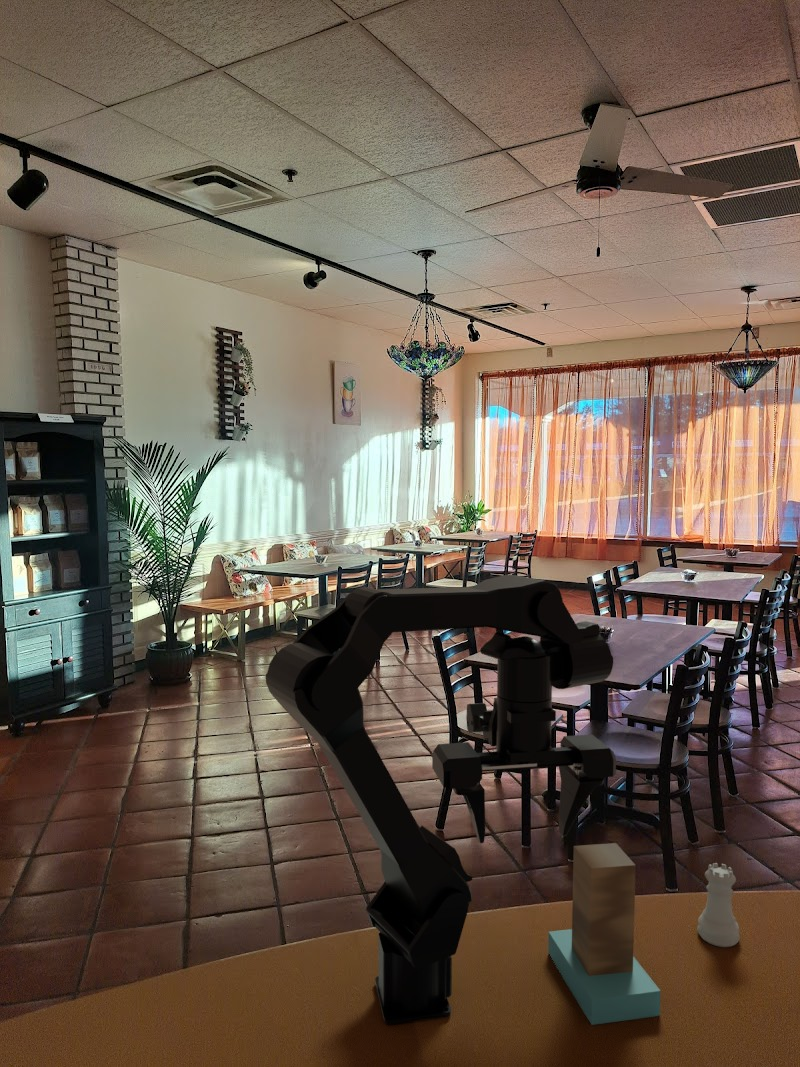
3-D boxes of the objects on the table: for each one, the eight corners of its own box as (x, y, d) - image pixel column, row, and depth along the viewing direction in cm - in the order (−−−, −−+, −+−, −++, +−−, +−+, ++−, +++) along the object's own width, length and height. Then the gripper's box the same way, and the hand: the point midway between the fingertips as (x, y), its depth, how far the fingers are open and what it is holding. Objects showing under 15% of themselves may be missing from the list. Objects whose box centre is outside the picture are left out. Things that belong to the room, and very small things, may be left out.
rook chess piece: (732, 926, 88) (734, 859, 88) (745, 950, 84) (748, 880, 83) (692, 924, 89) (694, 857, 88) (703, 947, 84) (705, 877, 84)
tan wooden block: (588, 975, 76) (591, 868, 75) (571, 947, 80) (573, 846, 79) (632, 971, 76) (635, 865, 76) (613, 943, 81) (615, 843, 80)
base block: (591, 1025, 72) (592, 999, 72) (548, 953, 83) (548, 931, 83) (659, 1015, 74) (660, 990, 73) (608, 946, 84) (608, 924, 84)
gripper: (576, 672, 91) (573, 800, 92) (421, 679, 87) (421, 812, 88) (620, 699, 80) (616, 844, 81) (445, 708, 76) (444, 859, 77)
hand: (522, 837), depth 82 cm, fingers open, 9 cm apart
